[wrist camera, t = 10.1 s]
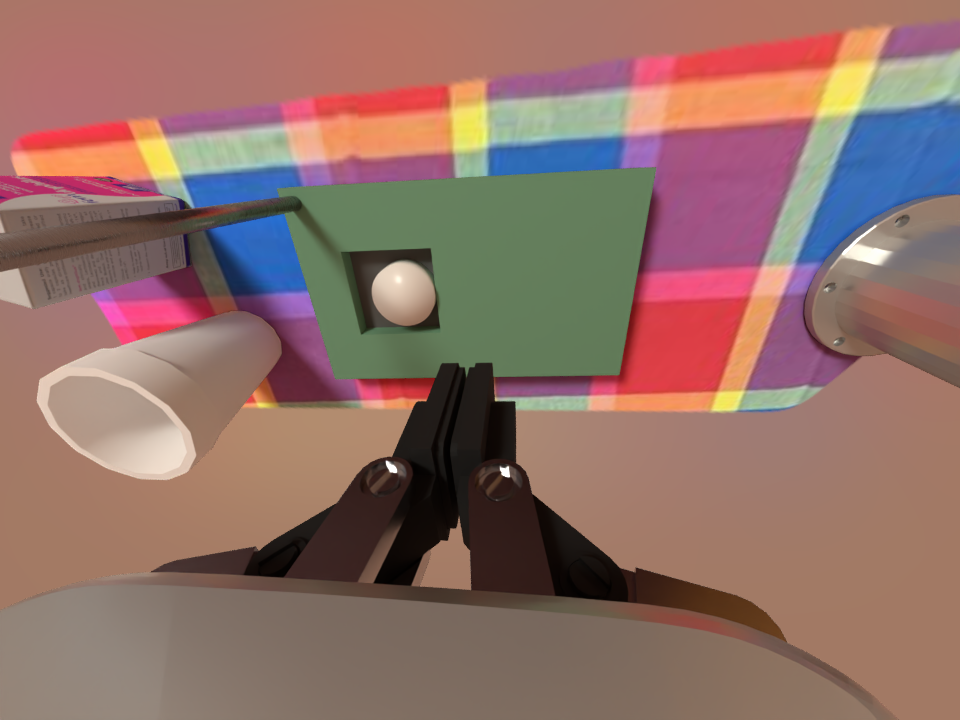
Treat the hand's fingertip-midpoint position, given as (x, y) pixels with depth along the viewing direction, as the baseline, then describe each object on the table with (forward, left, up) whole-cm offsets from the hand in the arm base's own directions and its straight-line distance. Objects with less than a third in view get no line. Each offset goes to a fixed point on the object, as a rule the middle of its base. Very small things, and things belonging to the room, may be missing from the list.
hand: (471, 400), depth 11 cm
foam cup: (+24, +7, -20) cm, 31 cm away
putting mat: (+3, +2, -19) cm, 20 cm away
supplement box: (+28, -4, -20) cm, 34 cm away
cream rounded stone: (+7, +2, -18) cm, 20 cm away
